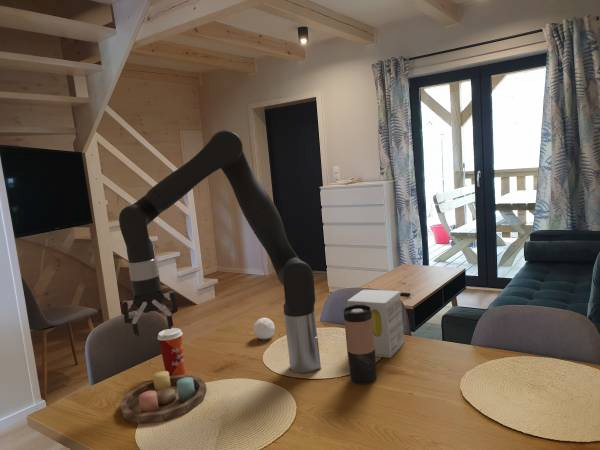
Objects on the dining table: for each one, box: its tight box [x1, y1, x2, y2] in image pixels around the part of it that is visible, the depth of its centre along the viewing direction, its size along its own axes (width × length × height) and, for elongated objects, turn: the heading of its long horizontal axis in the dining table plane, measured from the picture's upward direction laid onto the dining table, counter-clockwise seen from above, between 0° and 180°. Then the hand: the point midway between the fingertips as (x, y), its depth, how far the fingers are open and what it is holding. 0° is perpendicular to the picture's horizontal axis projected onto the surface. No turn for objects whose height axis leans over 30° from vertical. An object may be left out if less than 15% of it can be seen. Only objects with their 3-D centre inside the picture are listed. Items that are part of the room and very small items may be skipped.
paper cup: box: [157, 327, 186, 376], centre depth 141 cm, size 8×8×14 cm
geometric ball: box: [252, 317, 275, 341], centre depth 164 cm, size 8×8×8 cm
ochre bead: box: [152, 370, 171, 392], centre depth 128 cm, size 4×4×5 cm
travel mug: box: [343, 305, 378, 385], centre depth 124 cm, size 8×8×20 cm
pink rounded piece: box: [139, 391, 159, 413], centre depth 117 cm, size 4×4×5 cm
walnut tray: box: [119, 374, 208, 425], centre depth 123 cm, size 22×22×3 cm
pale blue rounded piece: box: [177, 377, 195, 402], centre depth 122 cm, size 4×4×5 cm
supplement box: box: [347, 289, 405, 359], centre depth 144 cm, size 13×13×18 cm
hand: (154, 331), depth 127 cm, fingers open, 8 cm apart
